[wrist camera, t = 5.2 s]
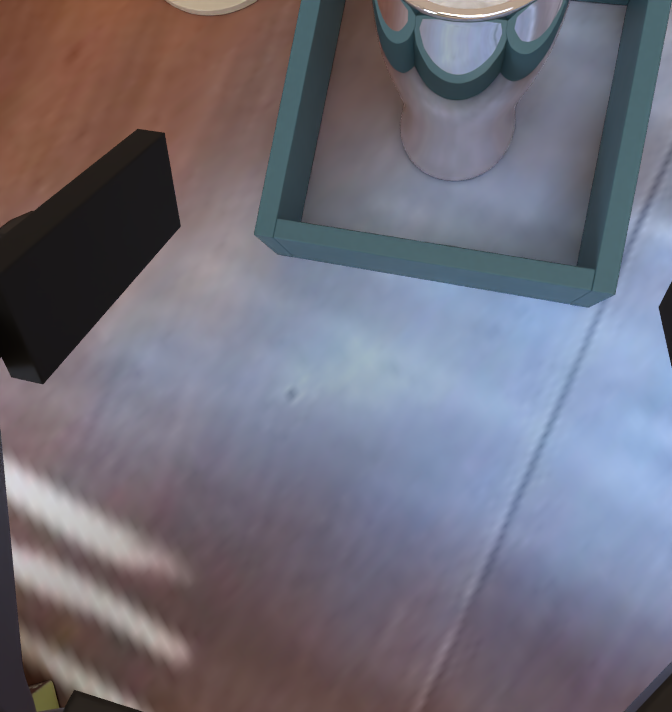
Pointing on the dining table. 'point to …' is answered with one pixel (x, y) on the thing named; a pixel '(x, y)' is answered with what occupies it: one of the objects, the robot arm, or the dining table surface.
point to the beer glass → (463, 74)
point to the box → (451, 263)
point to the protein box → (44, 696)
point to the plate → (210, 6)
